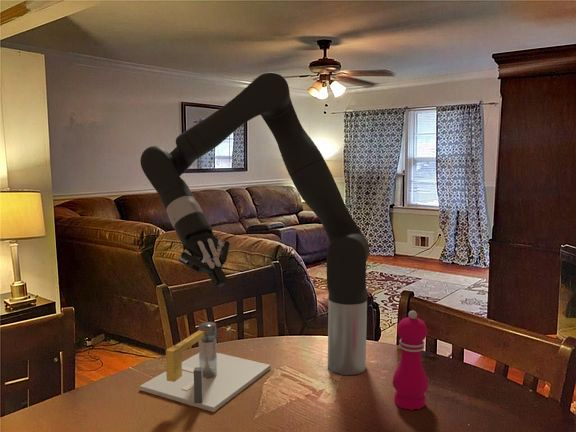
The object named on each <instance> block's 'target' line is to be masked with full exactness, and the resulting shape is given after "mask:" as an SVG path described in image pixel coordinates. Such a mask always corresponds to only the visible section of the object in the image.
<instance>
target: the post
mask: <svg viewBox="0 0 576 432" xmlns="http://www.w3.org/2000/svg"><path fill="white" fill-rule="evenodd" d="M217 341H218V340H217V338H216V339H214V340H210V341H202V340H199V341H198V353H199V367H203V378H206V379H211V378H214V377H216V376H217V353H218V351H217V346H218V344H217Z"/></svg>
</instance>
